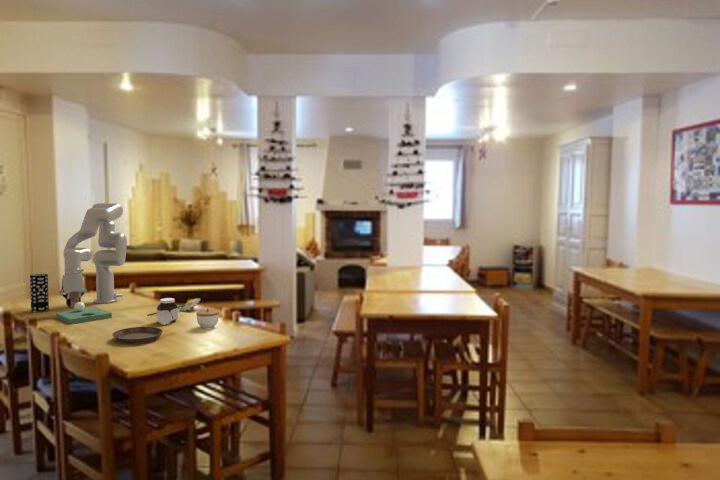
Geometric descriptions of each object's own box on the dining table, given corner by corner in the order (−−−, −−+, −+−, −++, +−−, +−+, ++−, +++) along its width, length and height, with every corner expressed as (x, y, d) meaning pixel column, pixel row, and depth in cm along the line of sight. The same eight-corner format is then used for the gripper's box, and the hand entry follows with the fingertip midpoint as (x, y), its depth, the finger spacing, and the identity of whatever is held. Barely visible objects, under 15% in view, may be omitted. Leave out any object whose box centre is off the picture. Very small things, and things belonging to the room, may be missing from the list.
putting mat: (96, 311, 272) (96, 307, 272) (112, 317, 259) (111, 313, 259) (56, 317, 257) (55, 312, 257) (70, 324, 244) (70, 319, 244)
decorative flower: (152, 322, 261) (205, 307, 281) (151, 313, 260) (204, 299, 280) (144, 319, 270) (195, 305, 290) (142, 310, 270) (194, 297, 289)
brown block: (76, 306, 270) (75, 290, 270) (79, 307, 267) (79, 291, 266) (67, 307, 267) (67, 291, 267) (71, 308, 264) (70, 292, 263)
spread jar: (174, 318, 259) (173, 297, 259) (183, 322, 251) (183, 300, 251) (151, 322, 251) (150, 299, 250) (160, 326, 243) (159, 303, 242)
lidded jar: (223, 325, 246) (223, 307, 246) (210, 330, 236) (210, 311, 236) (205, 323, 250) (205, 305, 249) (191, 328, 240) (191, 309, 239)
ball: (82, 309, 265) (82, 300, 265) (86, 311, 262) (86, 302, 262) (72, 311, 262) (72, 301, 261) (76, 312, 258) (76, 303, 258)
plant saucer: (172, 335, 228) (172, 328, 228) (143, 347, 208) (142, 340, 208) (133, 331, 233) (133, 325, 233) (101, 343, 213) (101, 336, 213)
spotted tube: (42, 312, 269) (41, 276, 268) (27, 311, 269) (26, 275, 268) (52, 308, 277) (51, 273, 276) (37, 308, 277) (36, 273, 276)
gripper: (86, 270, 274) (87, 302, 276) (53, 272, 262) (53, 306, 263) (92, 271, 269) (92, 304, 271) (57, 274, 257) (58, 308, 258)
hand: (73, 305), depth 267 cm, fingers closed on brown block, 4 cm apart
